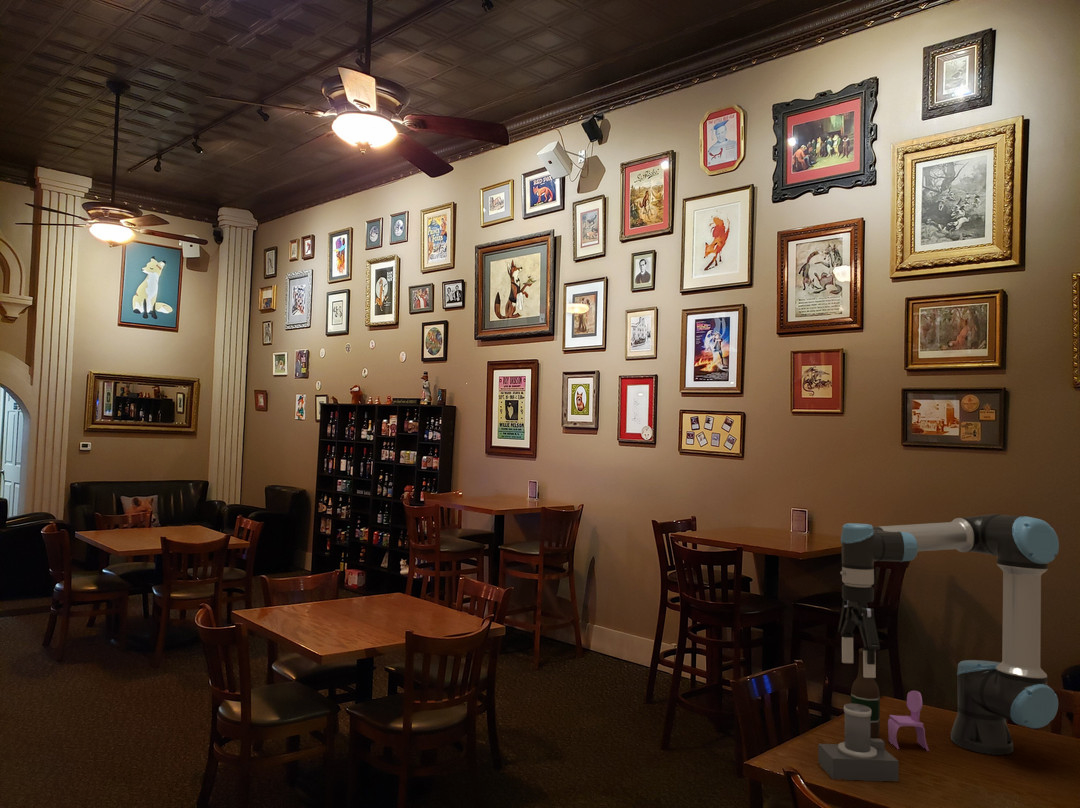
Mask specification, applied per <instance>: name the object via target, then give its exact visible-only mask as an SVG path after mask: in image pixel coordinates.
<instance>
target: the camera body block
mask: <svg viewBox="0 0 1080 808" xmlns="http://www.w3.org/2000/svg"><path fill="white" fill-rule="evenodd" d="M885 743H886V742H885V741H884V740H883V739H882V738H870V752H865V753H862V752H855V751H851V750H849V749H847V748H845V741H842V742H839V743H838V744H837V743H835V744H834V743H833V744H832V743H818V747H817V748H818V752H817V753H818V756H817V757H818V758H817V759H818V763H819V764H820V765H821V766H820V765H819V764H818V763H817V764H818V765H819V766H820V767H821V769H823V771H826V772H827V773H828V774H829V775H828V774H827V773H826V774H827V775H828V776H829V777H830V778H831V779H832V780H833V779H844V780H843V781H854V780H862V781H863V780H864V781H863V782H882V781H899V776H900V775H899V769H900V768H899V762H900V761H899V760H898V759H897V758H896V757H895V756H894V755H892V754H891V753H889V752H888V751H887V750H886V749H885V746H886V745H885ZM845 779H846V780H845ZM862 781H861V782H862Z"/></svg>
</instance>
